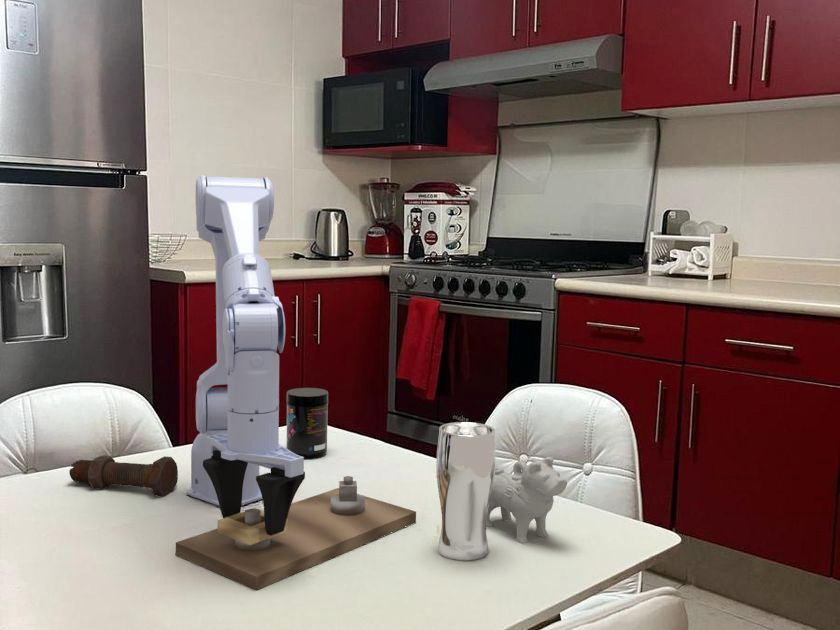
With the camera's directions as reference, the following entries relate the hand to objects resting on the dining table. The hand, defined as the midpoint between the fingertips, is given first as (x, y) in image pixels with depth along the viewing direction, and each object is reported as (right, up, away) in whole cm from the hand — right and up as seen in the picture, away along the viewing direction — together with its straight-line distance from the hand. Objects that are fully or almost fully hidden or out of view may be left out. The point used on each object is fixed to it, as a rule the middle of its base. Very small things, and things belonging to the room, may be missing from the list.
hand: (252, 524), depth 99 cm
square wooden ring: (0, -1, 0) cm, 1 cm away
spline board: (+5, -3, +7) cm, 9 cm away
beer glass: (+24, -4, +4) cm, 25 cm away
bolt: (-23, -1, +24) cm, 33 cm away
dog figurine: (+32, -4, +11) cm, 34 cm away
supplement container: (+1, +1, +43) cm, 43 cm away
